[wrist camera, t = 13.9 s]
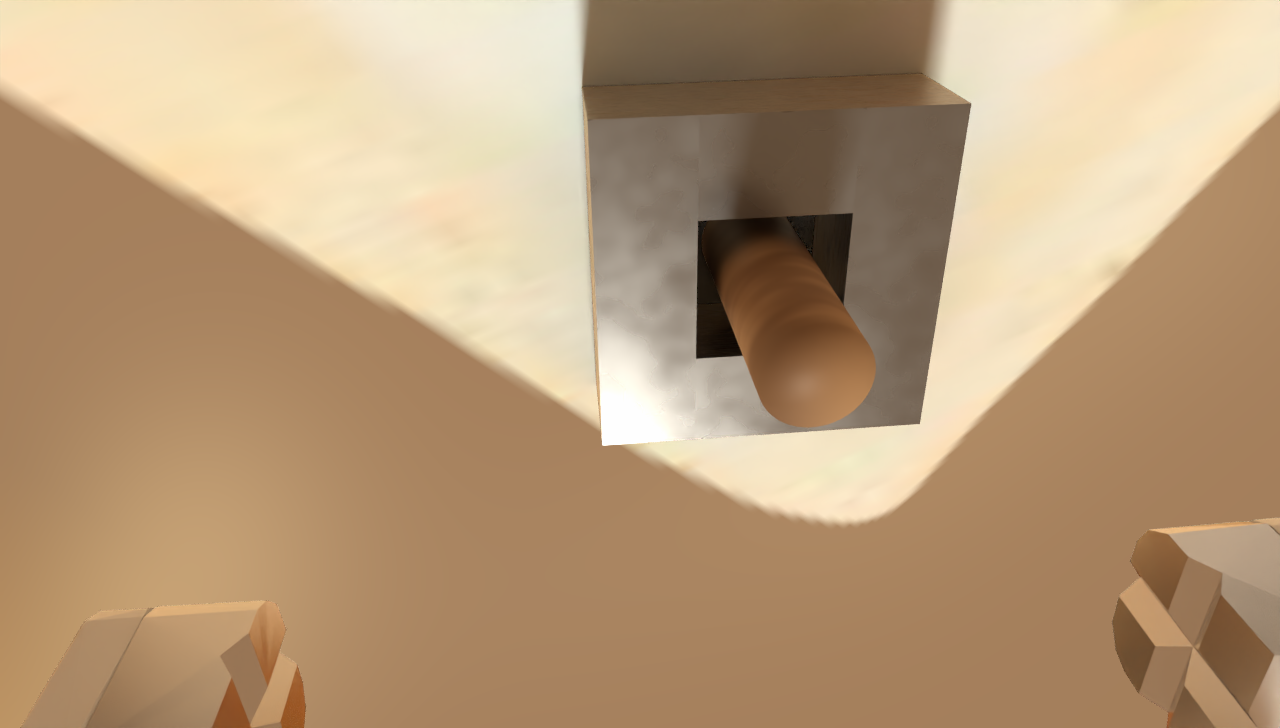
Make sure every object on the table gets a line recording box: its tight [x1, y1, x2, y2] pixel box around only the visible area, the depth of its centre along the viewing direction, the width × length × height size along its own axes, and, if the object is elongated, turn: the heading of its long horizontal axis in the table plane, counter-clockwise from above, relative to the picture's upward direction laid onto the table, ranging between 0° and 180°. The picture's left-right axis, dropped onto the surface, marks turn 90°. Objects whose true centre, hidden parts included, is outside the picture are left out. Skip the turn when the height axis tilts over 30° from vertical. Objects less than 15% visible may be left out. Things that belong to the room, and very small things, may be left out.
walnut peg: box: [702, 216, 876, 427], centre depth 36 cm, size 4×4×12 cm
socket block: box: [582, 73, 971, 445], centre depth 39 cm, size 14×14×5 cm
